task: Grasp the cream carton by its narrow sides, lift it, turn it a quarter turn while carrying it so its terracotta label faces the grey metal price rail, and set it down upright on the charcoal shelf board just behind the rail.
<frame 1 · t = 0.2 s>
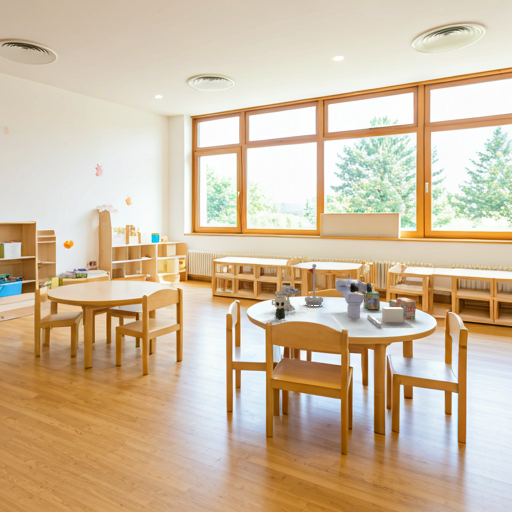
hand: (364, 289, 234), 21 cm above the table, tool horizontal, fingers open, 7 cm apart
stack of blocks: (401, 317, 258), on the table
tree: (288, 309, 282), on the table
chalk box: (371, 308, 283), on the table
cream carton: (392, 321, 243), point 1 cm above the table, touching shelf deck
character mug: (280, 317, 257), on the table
shelf deck: (389, 324, 239), on the table
price rail: (374, 322, 239), resting on shelf deck
flag stand: (313, 305, 296), on the table
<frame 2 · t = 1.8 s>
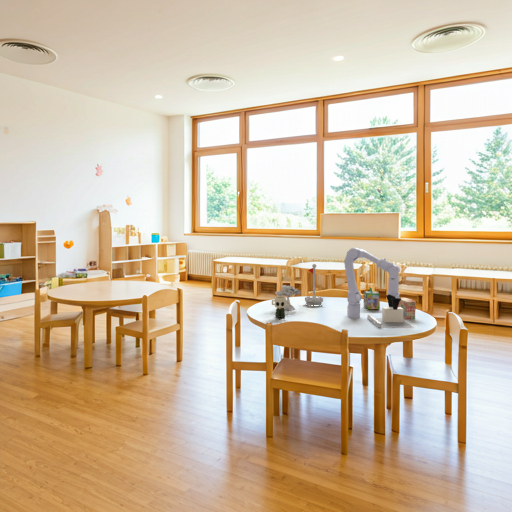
hand: (392, 308, 243), 9 cm above the table, tool pointing down, fingers open, 7 cm apart
nothing on the table moved.
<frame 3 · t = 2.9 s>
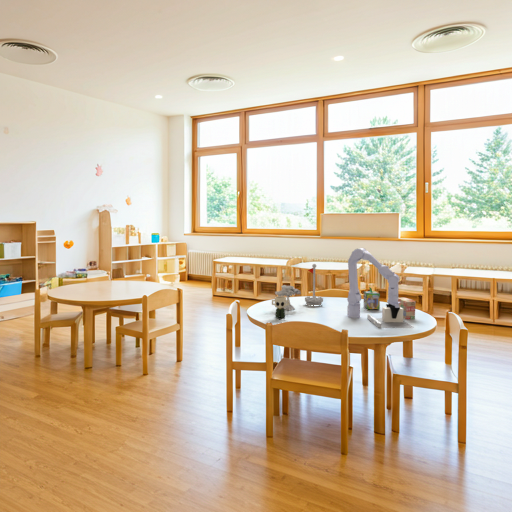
hand: (392, 317, 243), 3 cm above the table, tool pointing down, fingers closed on cream carton, 5 cm apart
cream carton: (392, 321, 243), point 1 cm above the table, touching gripper, shelf deck
everything else where it was.
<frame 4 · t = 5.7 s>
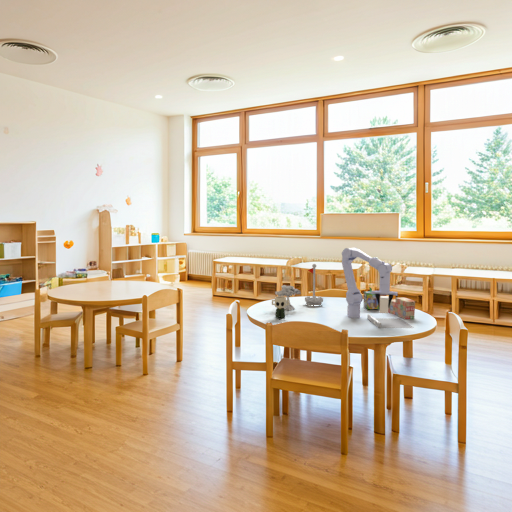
hand: (384, 307, 239), 10 cm above the table, tool pointing down, fingers closed on cream carton, 5 cm apart
cream carton: (384, 311, 239), point 8 cm above the table, touching gripper
everything else where it was.
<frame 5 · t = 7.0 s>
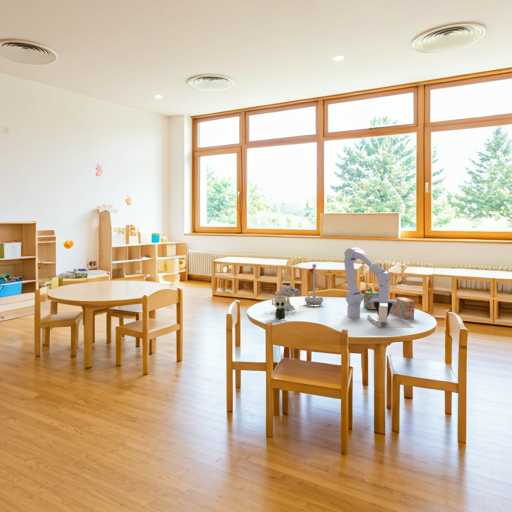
hand: (383, 315, 239), 6 cm above the table, tool pointing down, fingers closed on cream carton, 5 cm apart
cream carton: (383, 319, 239), point 3 cm above the table, touching gripper
everything else where it was.
when the fingers open (5 cm above the table, at t = 8.1 s): cream carton drops 1 cm, resting on shelf deck.
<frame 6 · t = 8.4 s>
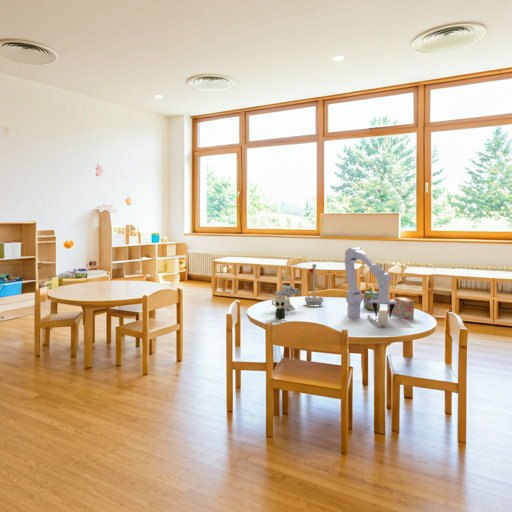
hand: (383, 316, 239), 5 cm above the table, tool pointing down, fingers open, 7 cm apart
cream carton: (383, 322, 239), point 1 cm above the table, touching shelf deck
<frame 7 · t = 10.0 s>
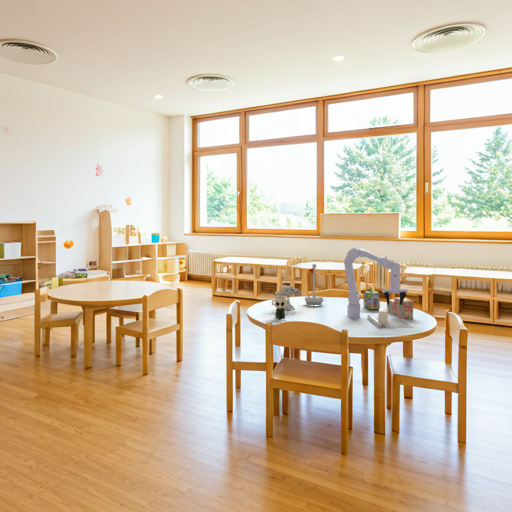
hand: (394, 304, 245), 10 cm above the table, tool pointing down, fingers open, 7 cm apart
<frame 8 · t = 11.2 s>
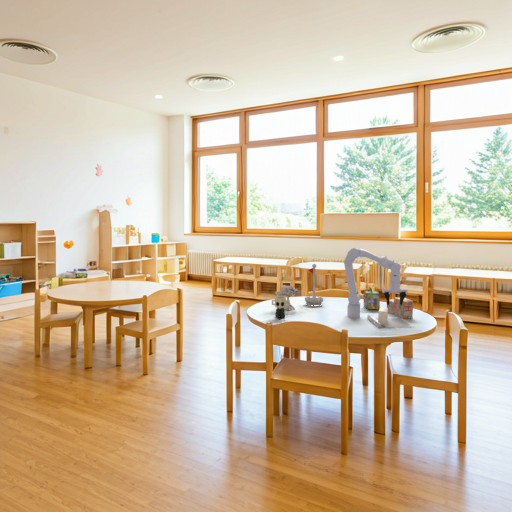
hand: (394, 304, 245), 10 cm above the table, tool pointing down, fingers open, 7 cm apart
at the end: cream carton 0.0 cm from the target spot, point 1.0 cm above the table; cream carton tilted 0°; the gripper is holding nothing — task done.
